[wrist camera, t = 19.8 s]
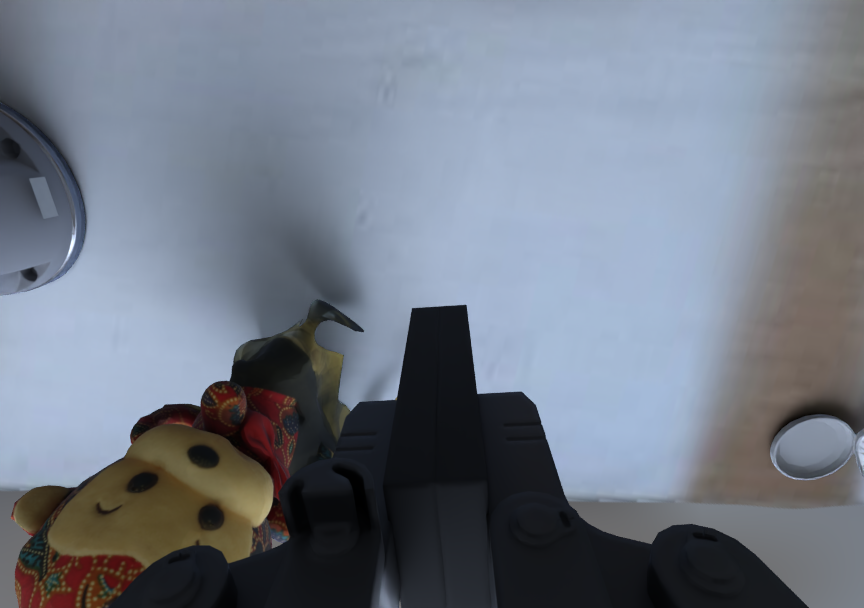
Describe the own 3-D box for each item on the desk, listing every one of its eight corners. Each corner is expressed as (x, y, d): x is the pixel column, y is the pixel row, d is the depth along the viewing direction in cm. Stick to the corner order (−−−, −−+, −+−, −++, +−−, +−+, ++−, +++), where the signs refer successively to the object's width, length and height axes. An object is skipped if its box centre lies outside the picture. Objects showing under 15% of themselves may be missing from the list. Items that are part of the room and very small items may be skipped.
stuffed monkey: (419, 459, 41) (228, 851, 19) (260, 413, 46) (-47, 693, 24) (432, 309, 35) (176, 630, 13) (247, 271, 40) (-183, 469, 17)
